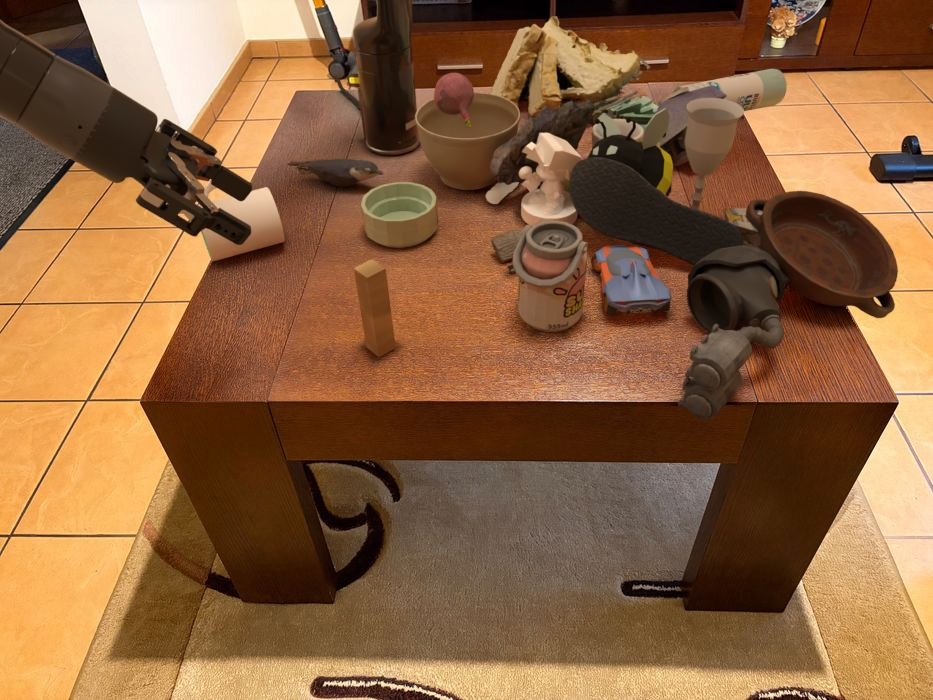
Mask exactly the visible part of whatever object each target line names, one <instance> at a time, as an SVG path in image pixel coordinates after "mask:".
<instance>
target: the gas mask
mask: <svg viewBox="0 0 933 700" xmlns="http://www.w3.org/2000/svg"><path fill="white" fill-rule="evenodd" d="M789 280H790V279H789V277H788V276H787V275H785V274H784V273H783V272H782V271H781V269H780V267H779V265H778V262H777V261H776V260H775V259H774V258H773V257H772V256H771V255H770V254H769V253H767V252H765V251H763V250H761V249H759V248H757V247H753V246H748V245H741V246H733V247H727V248H721V249H718V250H716V251H714V252H712V253H710V254H709V255H707V256H705V257H704V258H702V259H701V260H700V261H698V262H697V263H696V264H695V265H692V266H691V269H690V271H689V272H688V274H687V287H686V288H687V289H686V300H687V301H686V302H687V306H688V309H689V312H690V314H691V315H692V317H693V319H694V321H695V322H696V323H697V325H698V326H699V327H700V328H701V329H702V330H703V331H705V332H706V333H708V334H706V333H705V334H704V335H703V336H702V338H701V340H700V343H699V345H698V346H697V345H694V346H692V348H691V350H690V351H689V355H690V356H689V360H690V361H692V363H691V365H690V366H689V367H688V368H687V369H686V371H685V373H684V377H685V378H684V380H683V382H682V384H681V385H682V388H681V390H682V391H684V394H683V395H682V396H681V397H680V399H679V401H678V402H677V406H678V407H680V408H681V407H685V408H686V409H687V410H688V411H689V413H690V414H692V415H693V416H694V417H696V418H699V419H701V420H707V421H708V420H712V419H715V418H716V417H717V416H718V414H720V412H721V411H722V409H723V408H724V407H725V406H726V405H727V404H728V402H729V401H730V400H731V399H732V398H733V396H734V395H735V394H736V393H737V392H738V391H739V389H740V388H741V386H742V385H743V375H742V373H741V371H740V370H741V368H742V367H743V366H744V365H745V363H746V362H748V360H749V359H750V357H751V356H752V353H753V347H752V344H751V343H754V344H755V345H758V346H759V347H761V348H763V349H766V350H774V349H776V348H777V347H778V346H780V345H781V344H782V341H783V340H784V337H785V328H784V326H783V324H782V322H781V318H782V314H781V308H780V306H779V303H780V302H781V300H782V299H783V298H784V296H785V295H786V294H785V293H786V292H785V291H786V290H787V289H788V285H787V283H788V282H789ZM735 329H738V330H735Z"/></svg>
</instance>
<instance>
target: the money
mask: <svg viewBox="0 0 933 700" xmlns="http://www.w3.org/2000/svg"><path fill="white" fill-rule="evenodd" d="M627 95H628V94H627ZM627 95H624V96H621V97H619V98H618V97H617V99H615V100H613V101H610V102H607V101H604V102H601V103H600V104H597V105H595V106H594V107H595V110H594V111H596V110H598V109H600V108H602V107H605V106H608V105H609V104H612V103H613V102H616V101H618V100H620V99H622V98H623V97H625V96H627ZM658 107H659V105H658V104H656V103H653V99H652V98H649V97H647V96H645V95H642V96H641V97H640V96H636V97H633V98H631V99H629V100H627V101H626V102H624V103H622V104H620V105H618V106H616V107H614V108H611V109H609V110H603V111H601V113H599V112H598V113H595V114H594V115H592V123H593V124H595V120H596V119H598V118H599V117H600V116H601V115H602V114H603V113H605V114H606V115H607V116H609V117H610V118H612V119H625V120H626V118H628V117H630V118H631V120H635V121H636V123H637V124H639V125H640V126H641V127H642V128H643V131H644V130H645V127H646V125H647V124H648V123H649V121H650V120H651V119H652V117H653V116H654V115H655V113H656V111H657V109H658ZM677 139H678V142H679V144H680V146H681V148H683V149H686V148H685V145H684V142H683V139H682V137H679V138H677ZM660 148H662V149H663V150H664V151H666V152H672V150H671V147H670V144H669V141H667V142H666V143H664V144H663V145H662V146H660Z"/></svg>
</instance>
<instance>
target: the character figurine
mask: <svg viewBox="0 0 933 700" xmlns="http://www.w3.org/2000/svg"><path fill="white" fill-rule="evenodd" d="M522 152H523V153H526V154H527V156H526V158H528V159H531V160H533V161H535V162H538V164H539V165H538V166H537V168H536V172H537V173H536V172H534V173H532V169H531V168H530V167H528V166H525V167H523V168H521V169H520V171H519V177H520V178H521V179H526V180H525V181H524V182H521V186H523V187H524V188H525V187H526V189H527V190H528V191H529V192H527V193H525V194H524V196H523V197H522V199H521V205H520V207H521V208H520V214H521V218H522V220H523V221H524V223H526V225H531V226H534V225H536V224H538V223H541V222H546V221H561V222H566V223H569V224H571V225H574V224H575V223H576V222H577V219H578V216H579V214H578V212H577V211H576V209H575V207H574V205H573V203H572V200H571V196H570V193H569V192H567V191H564V184H563V181H562V180H565V179H568V180H569V173H570V171H572V169H573V167H574V166H575V165H576V164H577V163H578V162H579V161H581V160H583V159H582V158H583V157H582V156H581V155H580V153H579V152H577V150H575V149H574V148H573V147H572V146H571V145H570V144H569V143H568V142H567V141H566V140H563V139H561V138H559V137H556V136H554V135H552V134H550V133H539V136H538V140H537V143H536V144H534V143H533V142H530V143H529V144H528V145H527V146H526V147H525V148H524V149H523V151H522ZM541 183H542V184H541ZM539 186H540V188H538V187H539Z"/></svg>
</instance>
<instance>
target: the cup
mask: <svg viewBox="0 0 933 700" xmlns="http://www.w3.org/2000/svg"><path fill="white" fill-rule="evenodd" d="M613 120H614V122H615V123H616V125H617V127H618V128H619V130H620V131H621V135H624V136H627V135H628V134H629V132H630V131H631V129H632V128H633V122H630V123H627V122H626V120H625V119H613ZM643 136H644V131H643V128H642V127H641V126H640V125H639V124H637V123H636V129H635V130H634V132H633V133H632V135H631V138H633V139H634V140H636V141H637V142H642V141H643ZM601 139H603V138H602V136H601V135H600V133H599V131H598V124H595V123H594V125H593V126H592V128H591V149H592V148H593V147H594V145H595V144H596V142H597V141H599V140H601ZM656 146H658V147H660V144H659V142H658V144H657V145H656Z"/></svg>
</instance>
